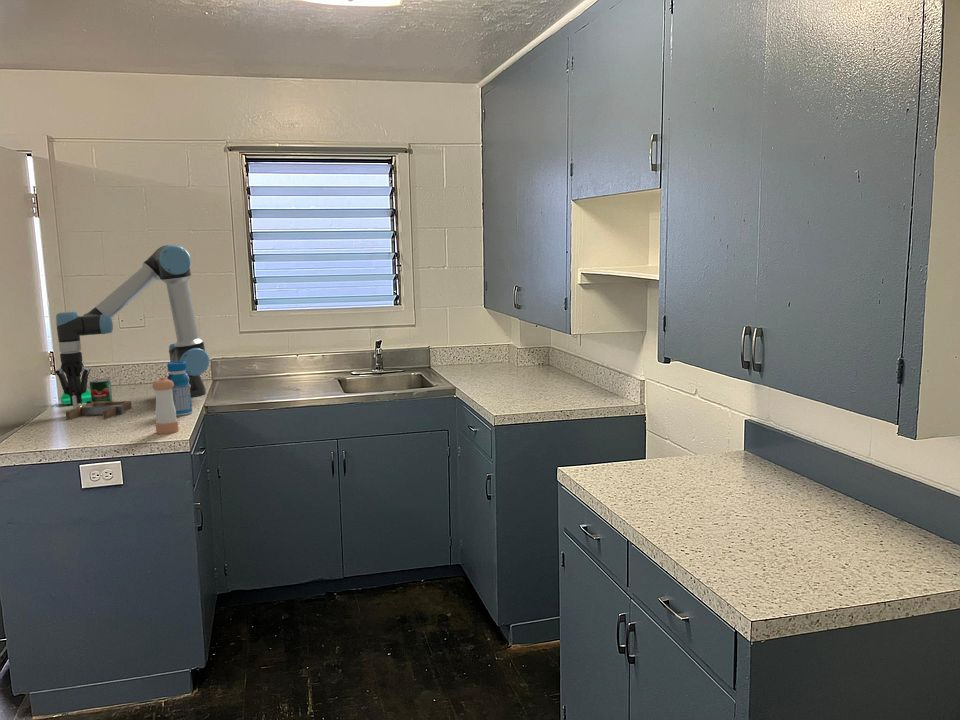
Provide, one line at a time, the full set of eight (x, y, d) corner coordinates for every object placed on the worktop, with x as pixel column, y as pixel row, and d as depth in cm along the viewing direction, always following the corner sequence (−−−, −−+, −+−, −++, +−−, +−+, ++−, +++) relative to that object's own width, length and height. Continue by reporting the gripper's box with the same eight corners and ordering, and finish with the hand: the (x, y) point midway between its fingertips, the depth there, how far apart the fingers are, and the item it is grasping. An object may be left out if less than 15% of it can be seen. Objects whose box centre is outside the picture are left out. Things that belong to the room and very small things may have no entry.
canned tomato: (109, 403, 333) (106, 377, 331) (116, 405, 327) (113, 379, 326) (89, 406, 327) (86, 380, 326) (96, 409, 322) (93, 382, 320)
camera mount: (64, 407, 330) (62, 382, 328) (61, 404, 336) (58, 380, 334) (96, 402, 337) (93, 378, 336) (91, 400, 343) (89, 376, 342)
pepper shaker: (181, 428, 281) (176, 375, 278) (174, 433, 274) (169, 378, 271) (160, 429, 281) (155, 376, 278) (153, 434, 273) (147, 379, 271)
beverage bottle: (182, 416, 301) (177, 364, 298) (164, 415, 304) (159, 364, 301) (197, 412, 309) (193, 361, 306) (180, 411, 312) (175, 360, 309)
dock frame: (131, 408, 321) (131, 400, 321) (107, 418, 302) (106, 411, 302) (93, 409, 322) (92, 401, 322) (66, 419, 303) (65, 412, 302)
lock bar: (125, 412, 312) (124, 403, 312) (121, 414, 309) (120, 405, 309) (81, 413, 313) (80, 404, 313) (77, 415, 310) (76, 406, 309)
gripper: (92, 350, 311) (98, 409, 315) (59, 351, 312) (66, 410, 316) (81, 352, 304) (88, 413, 308) (48, 353, 305) (55, 414, 308)
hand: (77, 411), depth 312 cm, fingers closed
